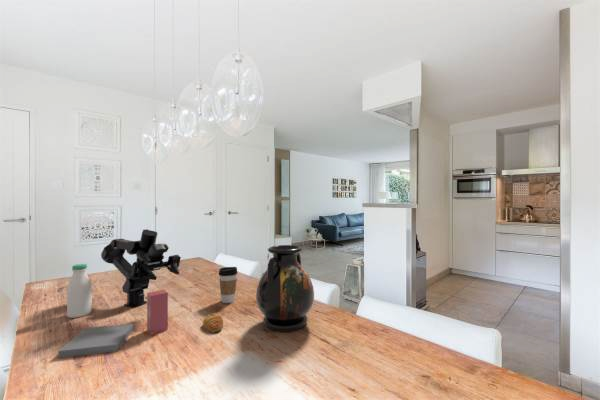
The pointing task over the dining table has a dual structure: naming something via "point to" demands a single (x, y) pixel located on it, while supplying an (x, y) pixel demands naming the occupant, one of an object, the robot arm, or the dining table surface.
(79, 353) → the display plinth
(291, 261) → the amphora vase
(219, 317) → the pastry
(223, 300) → the coffee cup
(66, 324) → the dining table surface
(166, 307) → the red rectangular block
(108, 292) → the dining table surface
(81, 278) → the milk bottle
